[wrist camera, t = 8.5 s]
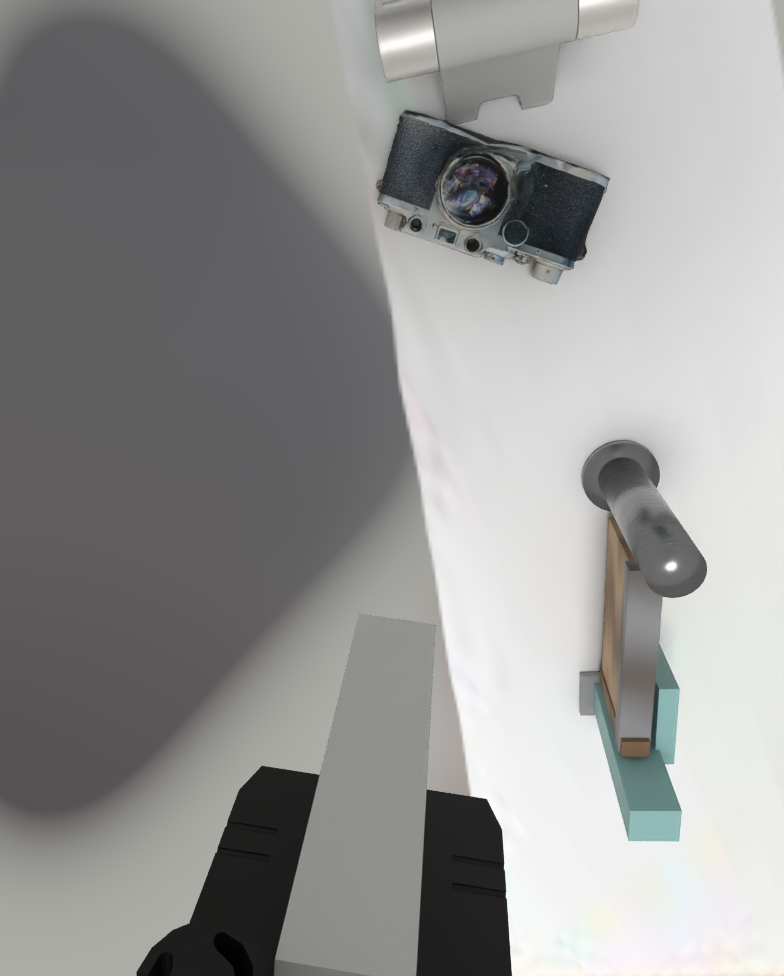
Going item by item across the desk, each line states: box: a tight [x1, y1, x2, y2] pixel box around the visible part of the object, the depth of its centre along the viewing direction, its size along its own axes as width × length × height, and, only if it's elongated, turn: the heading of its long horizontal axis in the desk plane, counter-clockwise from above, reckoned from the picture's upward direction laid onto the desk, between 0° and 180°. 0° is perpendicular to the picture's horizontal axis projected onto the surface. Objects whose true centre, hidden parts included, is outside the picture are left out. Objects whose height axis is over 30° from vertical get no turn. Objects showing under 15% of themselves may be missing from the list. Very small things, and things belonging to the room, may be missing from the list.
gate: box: [600, 518, 663, 757], centre depth 37 cm, size 11×2×6 cm, turn 4°
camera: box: [376, 110, 610, 284], centre depth 31 cm, size 5×10×4 cm, turn 72°
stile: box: [580, 645, 682, 841], centre depth 37 cm, size 6×4×10 cm, turn 6°
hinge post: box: [582, 441, 707, 598], centre depth 32 cm, size 4×4×10 cm
